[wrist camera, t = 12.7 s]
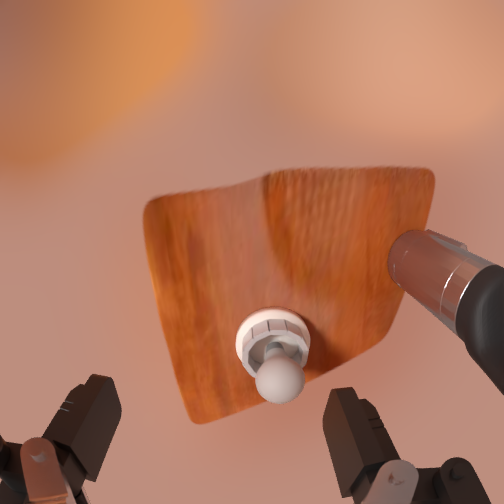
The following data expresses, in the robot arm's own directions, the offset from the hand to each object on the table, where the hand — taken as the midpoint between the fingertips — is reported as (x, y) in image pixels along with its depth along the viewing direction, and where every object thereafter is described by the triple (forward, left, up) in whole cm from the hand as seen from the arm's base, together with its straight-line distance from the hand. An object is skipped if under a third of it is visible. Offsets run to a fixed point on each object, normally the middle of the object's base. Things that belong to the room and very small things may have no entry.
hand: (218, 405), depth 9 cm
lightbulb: (+3, +17, -28) cm, 33 cm away
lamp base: (+3, +17, -30) cm, 35 cm away
